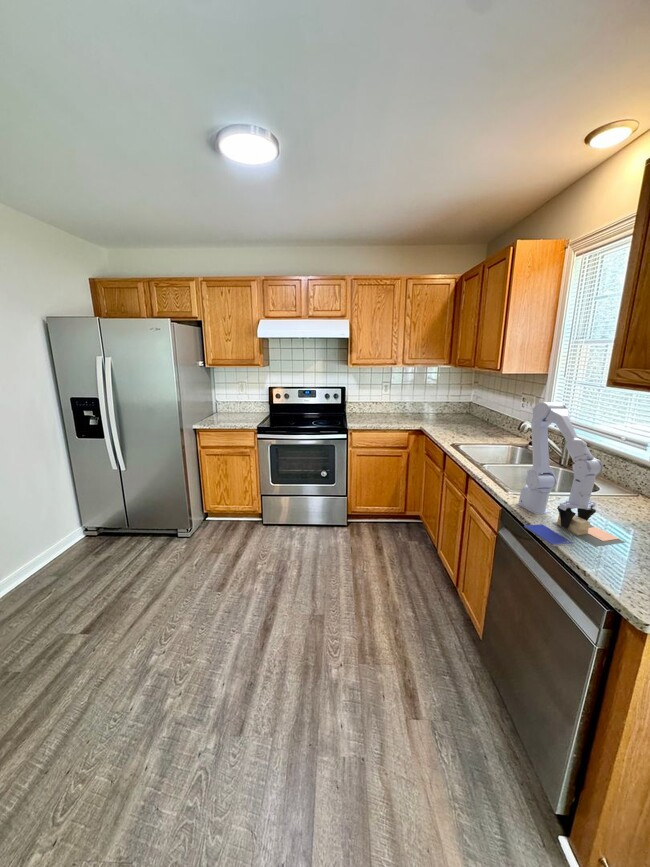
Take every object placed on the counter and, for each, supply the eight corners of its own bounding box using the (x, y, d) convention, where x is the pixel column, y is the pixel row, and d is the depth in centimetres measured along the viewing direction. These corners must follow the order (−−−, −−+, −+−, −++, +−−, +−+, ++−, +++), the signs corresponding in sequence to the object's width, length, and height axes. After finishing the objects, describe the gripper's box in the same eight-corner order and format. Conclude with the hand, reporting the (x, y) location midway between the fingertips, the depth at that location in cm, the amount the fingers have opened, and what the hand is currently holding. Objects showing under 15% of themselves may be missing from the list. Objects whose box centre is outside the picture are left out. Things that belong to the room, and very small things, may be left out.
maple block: (556, 523, 123) (559, 512, 122) (565, 522, 125) (568, 511, 123) (577, 535, 116) (580, 523, 115) (587, 533, 117) (590, 522, 116)
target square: (579, 529, 120) (579, 528, 120) (595, 527, 122) (595, 527, 122) (602, 541, 112) (602, 540, 112) (619, 539, 115) (619, 538, 115)
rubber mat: (551, 523, 124) (551, 522, 124) (579, 520, 128) (579, 519, 128) (595, 547, 109) (595, 546, 109) (625, 543, 113) (625, 542, 113)
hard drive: (574, 542, 109) (543, 524, 121) (553, 544, 108) (524, 525, 120) (572, 547, 110) (542, 528, 122) (552, 548, 108) (523, 529, 120)
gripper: (576, 497, 111) (567, 533, 114) (608, 494, 115) (598, 529, 118) (557, 489, 118) (549, 523, 121) (587, 486, 122) (579, 520, 125)
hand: (572, 526), depth 120 cm, fingers open, 7 cm apart
